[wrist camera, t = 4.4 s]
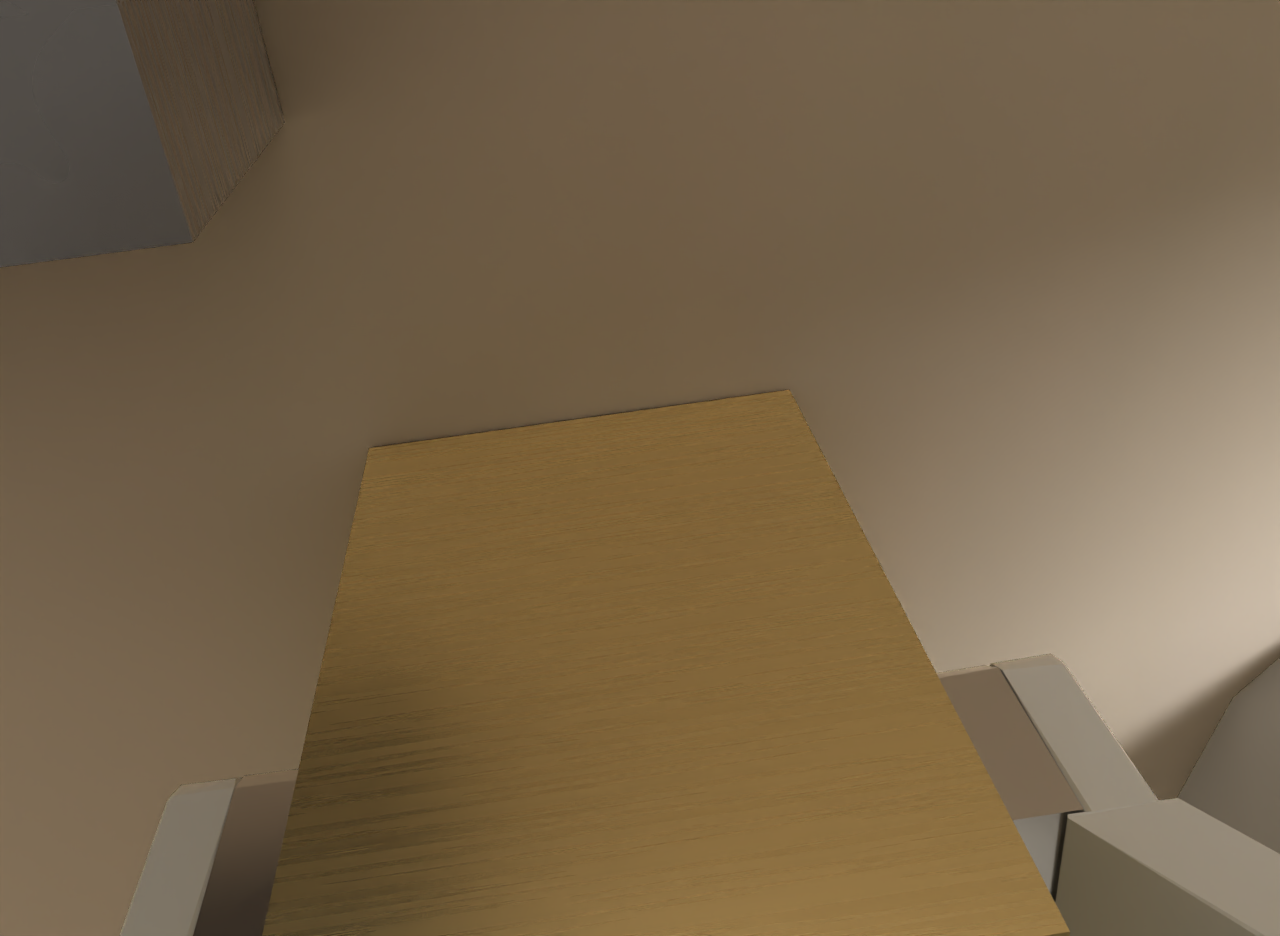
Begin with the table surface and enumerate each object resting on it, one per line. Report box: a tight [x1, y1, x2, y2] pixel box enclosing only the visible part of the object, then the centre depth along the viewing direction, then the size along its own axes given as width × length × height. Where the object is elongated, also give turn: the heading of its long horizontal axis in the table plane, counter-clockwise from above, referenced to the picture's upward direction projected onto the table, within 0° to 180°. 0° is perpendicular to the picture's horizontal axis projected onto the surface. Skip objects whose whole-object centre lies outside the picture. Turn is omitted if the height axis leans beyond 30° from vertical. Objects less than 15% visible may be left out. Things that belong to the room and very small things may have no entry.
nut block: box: [262, 390, 1070, 936], centre depth 9 cm, size 4×4×6 cm
